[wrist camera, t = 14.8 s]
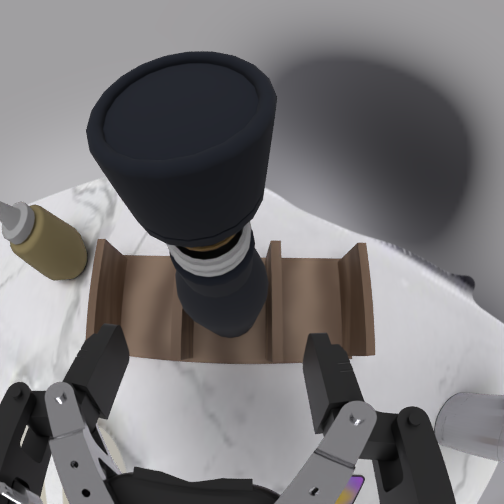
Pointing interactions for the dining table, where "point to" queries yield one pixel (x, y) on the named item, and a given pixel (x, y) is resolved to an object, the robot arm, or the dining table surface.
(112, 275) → the slot rack
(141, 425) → the dining table surface
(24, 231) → the squeeze bottle
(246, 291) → the black bottle
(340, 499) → the smartphone
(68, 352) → the dining table surface
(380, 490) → the robot arm
